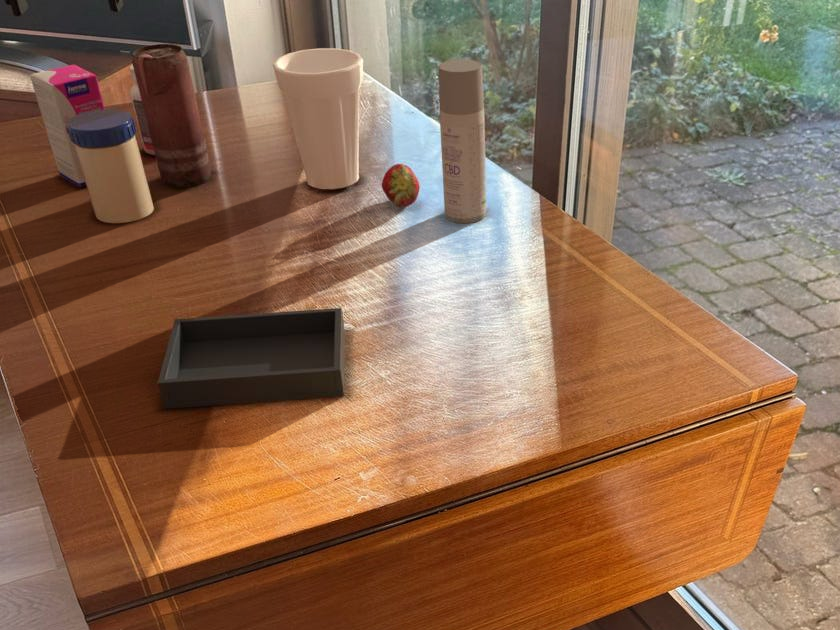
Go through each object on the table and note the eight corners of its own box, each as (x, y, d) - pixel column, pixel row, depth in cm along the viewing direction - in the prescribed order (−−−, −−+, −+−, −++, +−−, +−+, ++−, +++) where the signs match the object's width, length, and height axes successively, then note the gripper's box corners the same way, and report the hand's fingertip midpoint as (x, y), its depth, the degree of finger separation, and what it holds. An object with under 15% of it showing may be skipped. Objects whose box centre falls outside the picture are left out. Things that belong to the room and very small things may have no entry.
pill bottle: (193, 150, 127) (174, 66, 120) (153, 160, 125) (132, 74, 118) (177, 139, 130) (157, 56, 123) (138, 148, 128) (116, 64, 121)
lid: (65, 149, 105) (59, 132, 104) (77, 127, 110) (73, 110, 109) (130, 145, 105) (126, 128, 104) (140, 123, 110) (136, 107, 109)
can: (151, 186, 118) (117, 56, 109) (178, 167, 123) (148, 40, 113) (195, 191, 117) (165, 59, 107) (221, 172, 121) (194, 43, 111)
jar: (90, 225, 111) (63, 136, 104) (101, 202, 115) (75, 116, 109) (149, 221, 111) (126, 132, 104) (157, 198, 116) (135, 112, 109)
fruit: (417, 193, 115) (414, 148, 111) (423, 213, 111) (420, 167, 107) (381, 196, 115) (377, 151, 111) (386, 216, 110) (381, 170, 107)
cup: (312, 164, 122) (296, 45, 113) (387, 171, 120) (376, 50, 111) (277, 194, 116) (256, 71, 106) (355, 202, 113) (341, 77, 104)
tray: (165, 409, 83) (157, 383, 81) (181, 344, 91) (174, 318, 89) (344, 396, 84) (340, 370, 82) (345, 332, 92) (341, 307, 90)
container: (441, 222, 109) (433, 72, 98) (448, 205, 112) (441, 58, 101) (483, 223, 108) (479, 72, 98) (489, 207, 112) (486, 58, 101)
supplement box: (81, 189, 119) (49, 84, 110) (59, 176, 122) (26, 73, 114) (124, 176, 121) (96, 72, 113) (102, 163, 124) (73, 62, 116)
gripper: (-106, -206, 84) (-28, 24, 96) (99, -213, 85) (150, 16, 97) (-79, -214, 89) (-8, 5, 101) (114, -221, 90) (161, -2, 102)
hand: (69, 10), depth 99 cm, fingers open, 9 cm apart
